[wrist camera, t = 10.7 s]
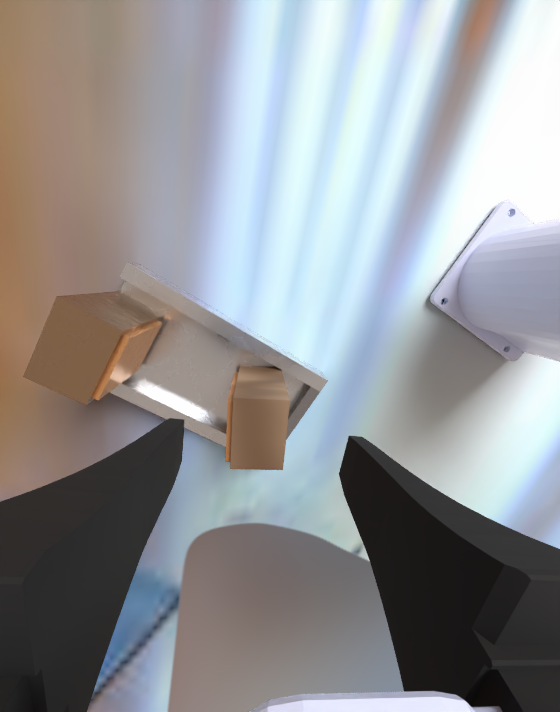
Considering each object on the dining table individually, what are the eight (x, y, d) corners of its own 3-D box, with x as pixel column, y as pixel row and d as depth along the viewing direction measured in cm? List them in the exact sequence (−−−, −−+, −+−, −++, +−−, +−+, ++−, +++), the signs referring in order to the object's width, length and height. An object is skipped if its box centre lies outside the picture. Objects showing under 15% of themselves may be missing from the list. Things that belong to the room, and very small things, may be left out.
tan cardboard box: (281, 367, 19) (290, 400, 14) (276, 420, 20) (282, 469, 15) (235, 364, 19) (227, 397, 14) (233, 419, 20) (224, 468, 15)
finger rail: (322, 372, 21) (349, 412, 14) (266, 452, 22) (269, 519, 16) (139, 264, 17) (73, 255, 11) (90, 367, 19) (9, 409, 13)
